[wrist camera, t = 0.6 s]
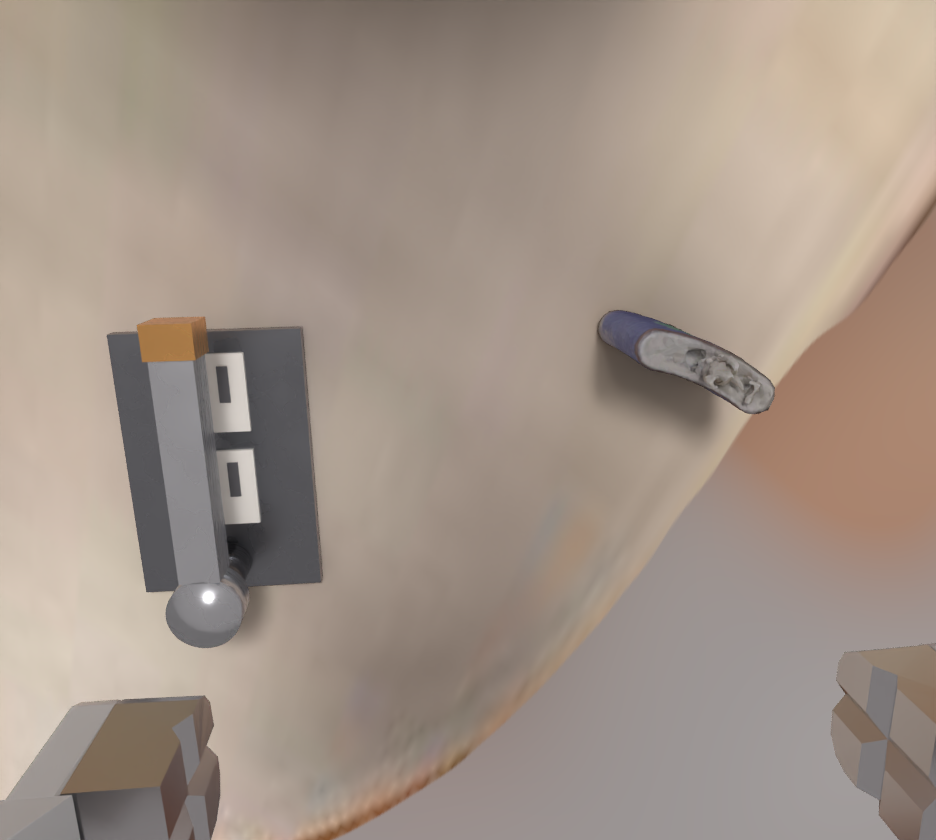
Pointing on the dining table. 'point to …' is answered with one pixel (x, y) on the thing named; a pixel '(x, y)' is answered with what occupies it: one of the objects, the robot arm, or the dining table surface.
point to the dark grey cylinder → (239, 559)
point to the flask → (688, 359)
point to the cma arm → (192, 483)
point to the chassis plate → (272, 437)
